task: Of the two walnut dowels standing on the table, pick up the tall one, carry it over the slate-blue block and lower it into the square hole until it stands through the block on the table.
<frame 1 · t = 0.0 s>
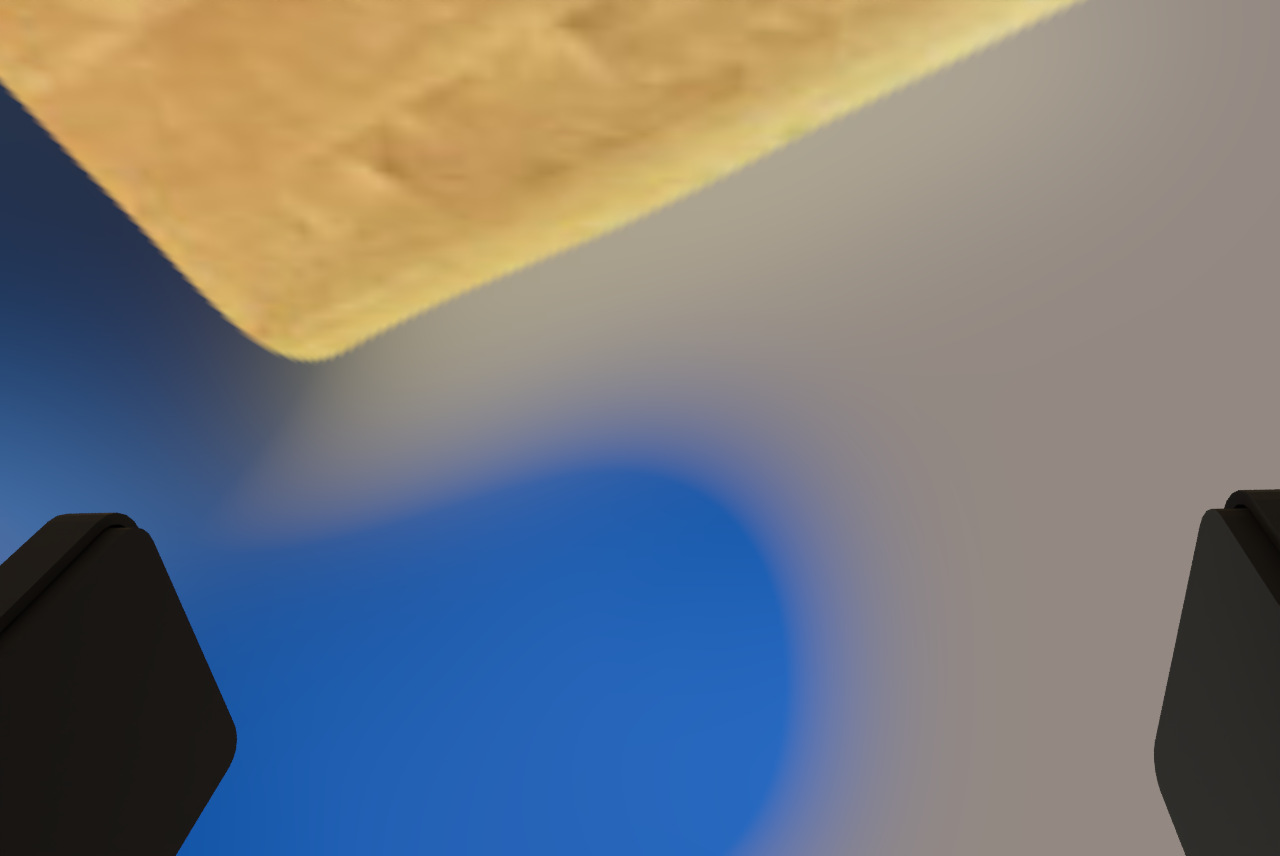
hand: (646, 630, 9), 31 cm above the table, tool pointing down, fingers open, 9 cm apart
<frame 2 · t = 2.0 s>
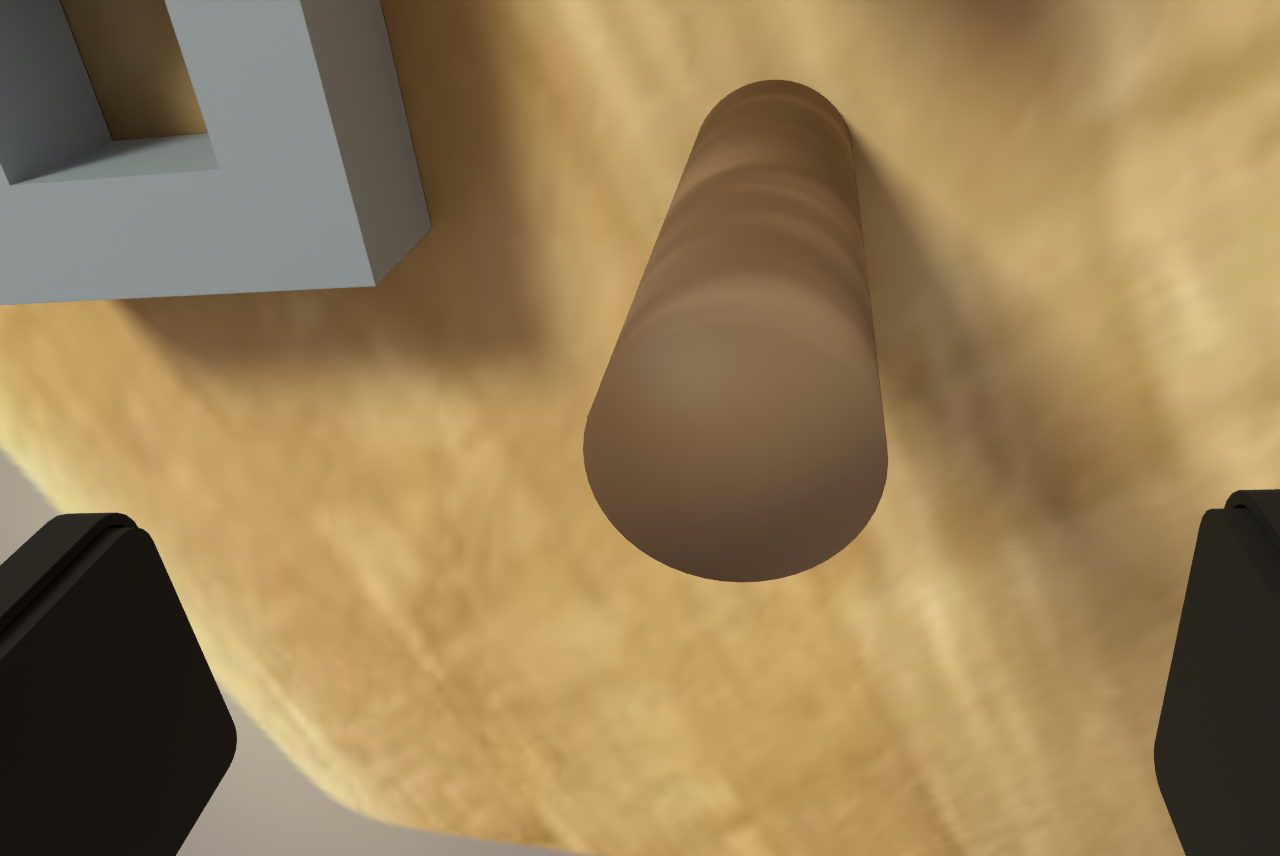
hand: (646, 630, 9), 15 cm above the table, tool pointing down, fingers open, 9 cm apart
tall dowel: (772, 161, 21), on the table
hole block: (167, 22, 22), on the table
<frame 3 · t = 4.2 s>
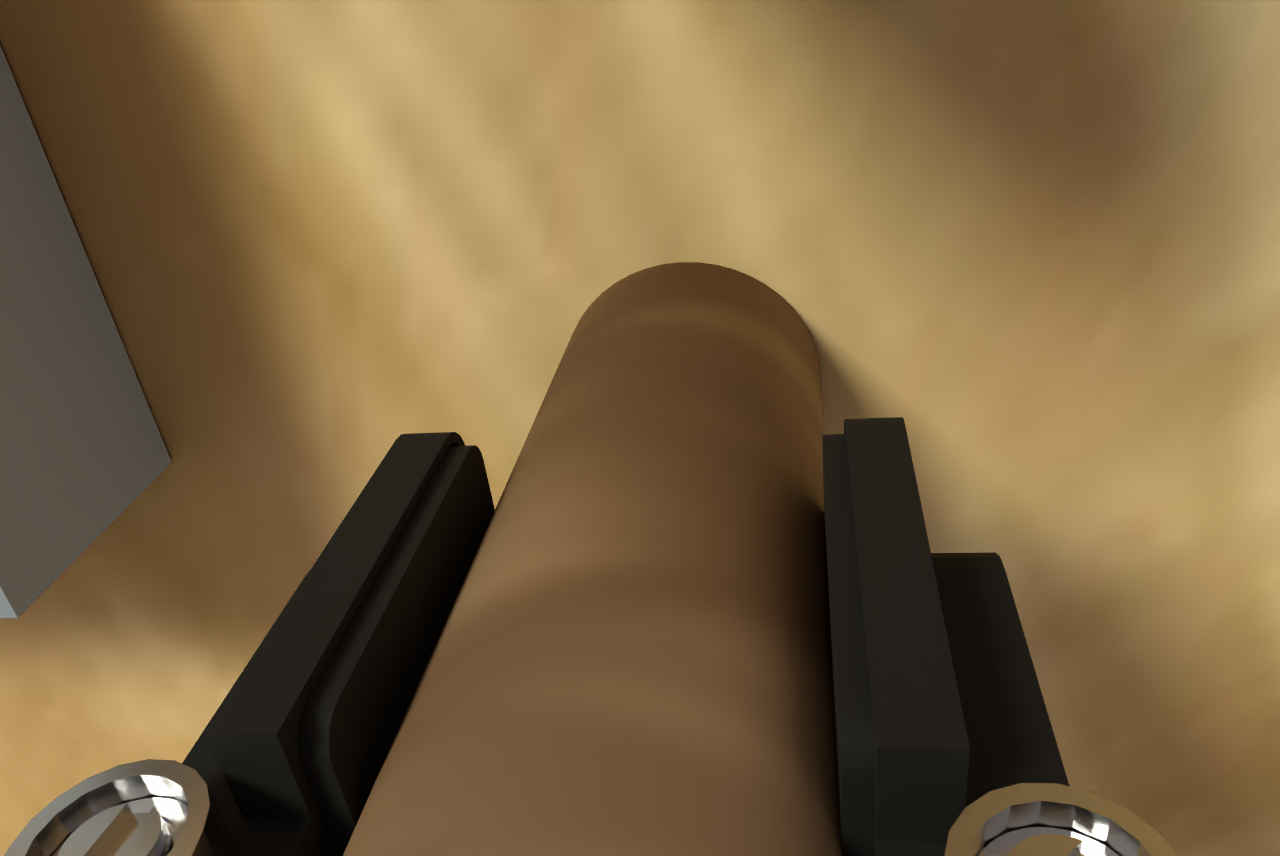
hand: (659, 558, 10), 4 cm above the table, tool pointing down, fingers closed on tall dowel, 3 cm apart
tall dowel: (691, 383, 13), on the table, touching gripper
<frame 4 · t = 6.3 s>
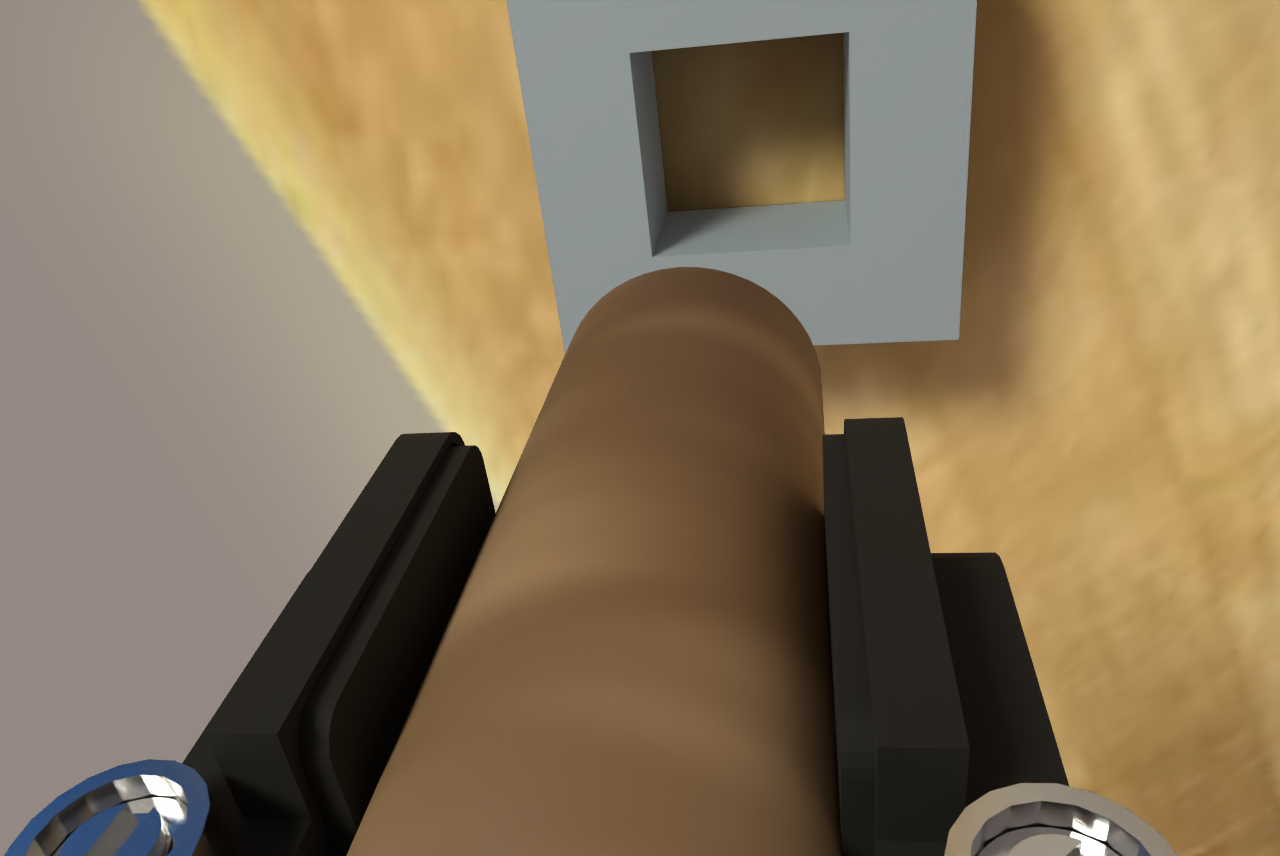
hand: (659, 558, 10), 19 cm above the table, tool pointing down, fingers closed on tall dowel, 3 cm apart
tall dowel: (691, 387, 13), point 15 cm above the table, touching gripper
hole block: (749, 116, 26), on the table
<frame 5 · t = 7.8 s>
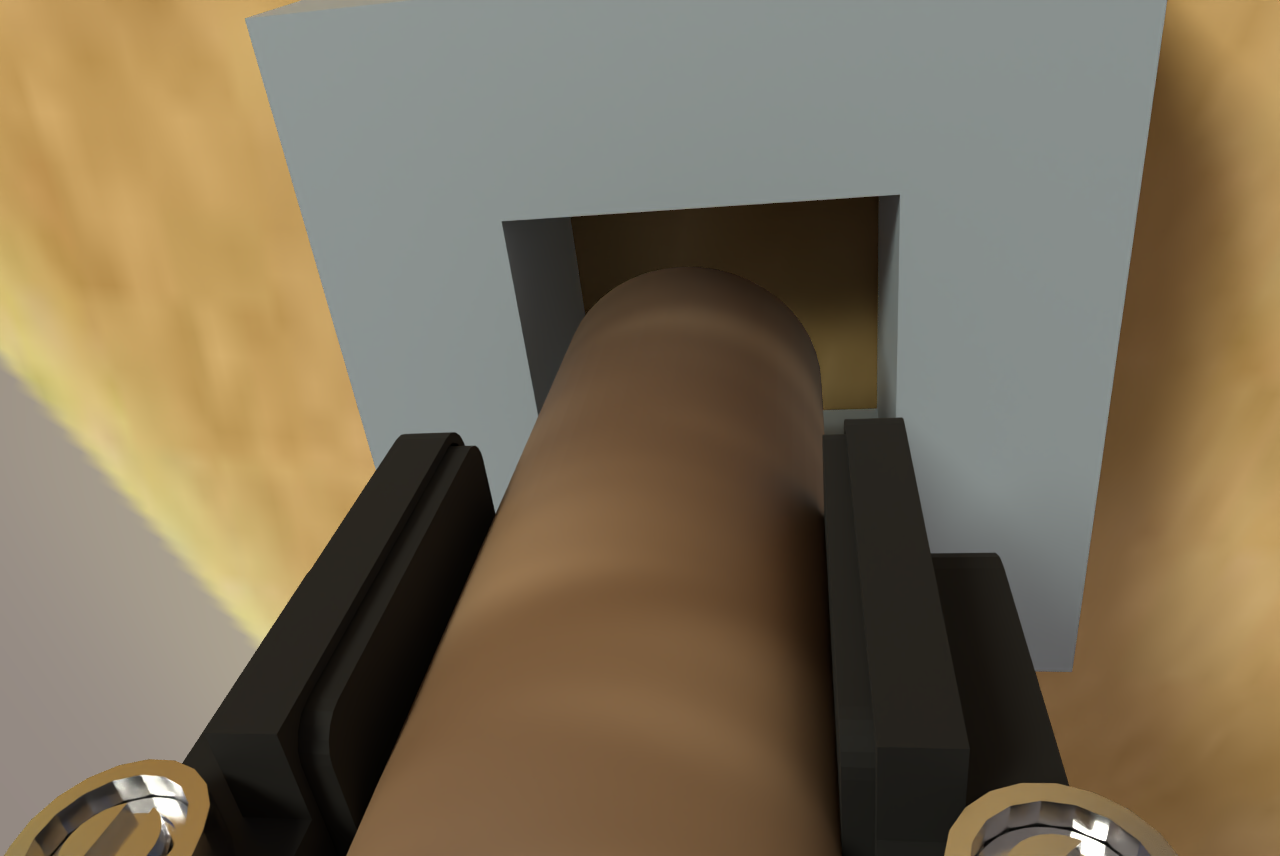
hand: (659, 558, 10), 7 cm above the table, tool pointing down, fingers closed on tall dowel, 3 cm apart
tall dowel: (691, 387, 13), point 3 cm above the table, touching gripper
hole block: (725, 284, 16), on the table
when the fingers open (5 cm above the table, at t = 8.8 s): tall dowel drops 1 cm, resting in hole block.
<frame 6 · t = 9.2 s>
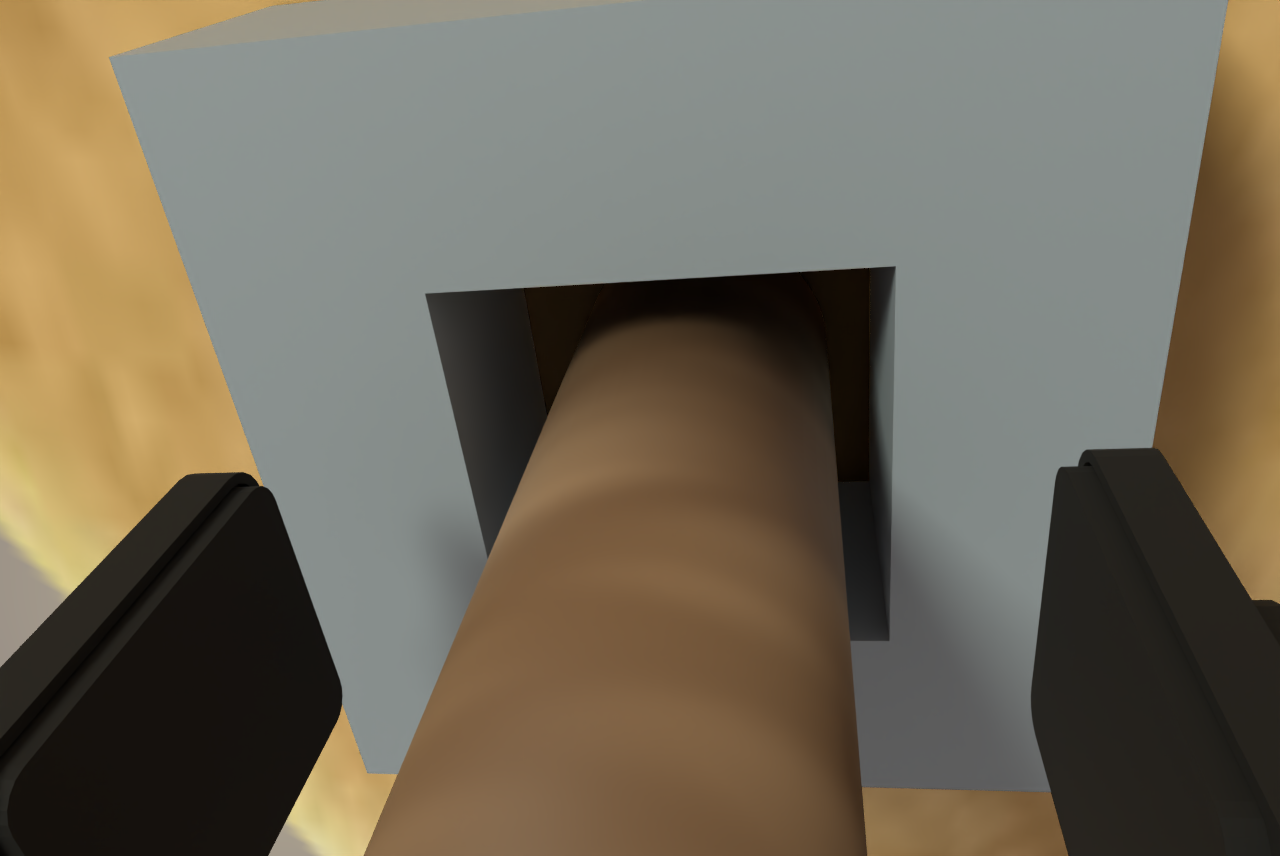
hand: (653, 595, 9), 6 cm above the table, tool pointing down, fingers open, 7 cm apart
tall dowel: (705, 346, 14), resting in hole block
hole block: (697, 344, 14), on the table
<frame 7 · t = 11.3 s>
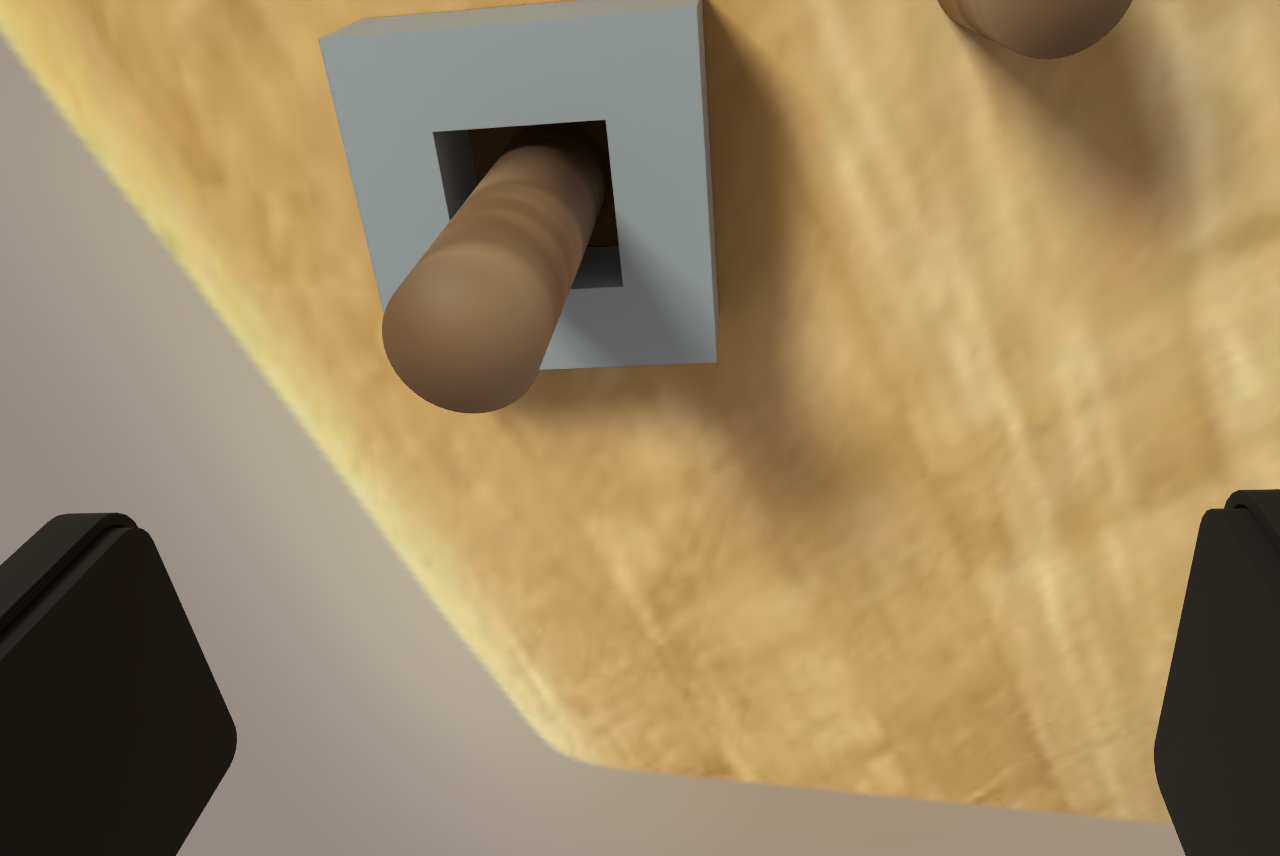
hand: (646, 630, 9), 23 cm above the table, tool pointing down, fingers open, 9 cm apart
tall dowel: (555, 177, 31), resting in hole block
hole block: (551, 176, 31), on the table
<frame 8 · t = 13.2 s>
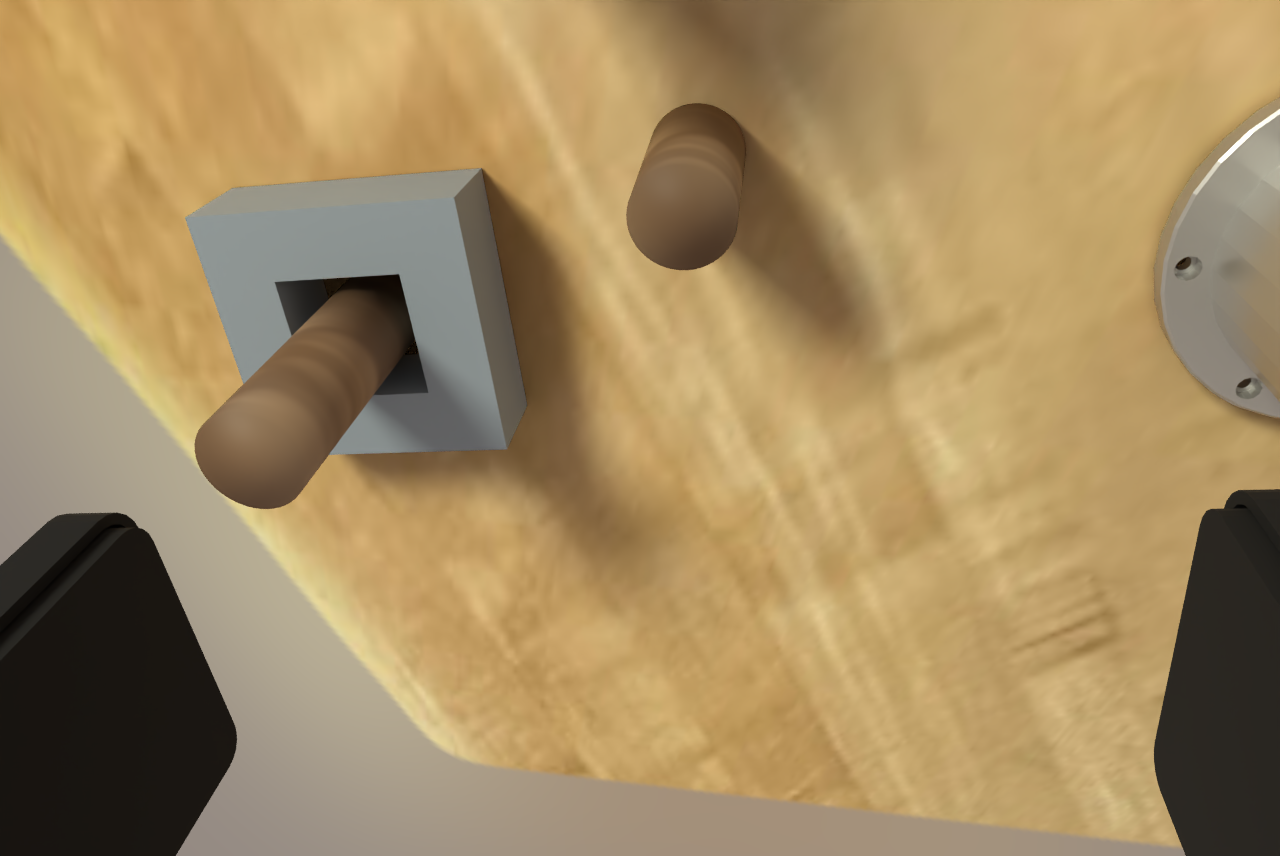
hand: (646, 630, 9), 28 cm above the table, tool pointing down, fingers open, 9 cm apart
tall dowel: (389, 301, 40), resting in hole block
hole block: (386, 301, 40), on the table
short dowel: (697, 151, 35), on the table
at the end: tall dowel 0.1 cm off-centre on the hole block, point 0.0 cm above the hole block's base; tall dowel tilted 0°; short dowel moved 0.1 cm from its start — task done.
